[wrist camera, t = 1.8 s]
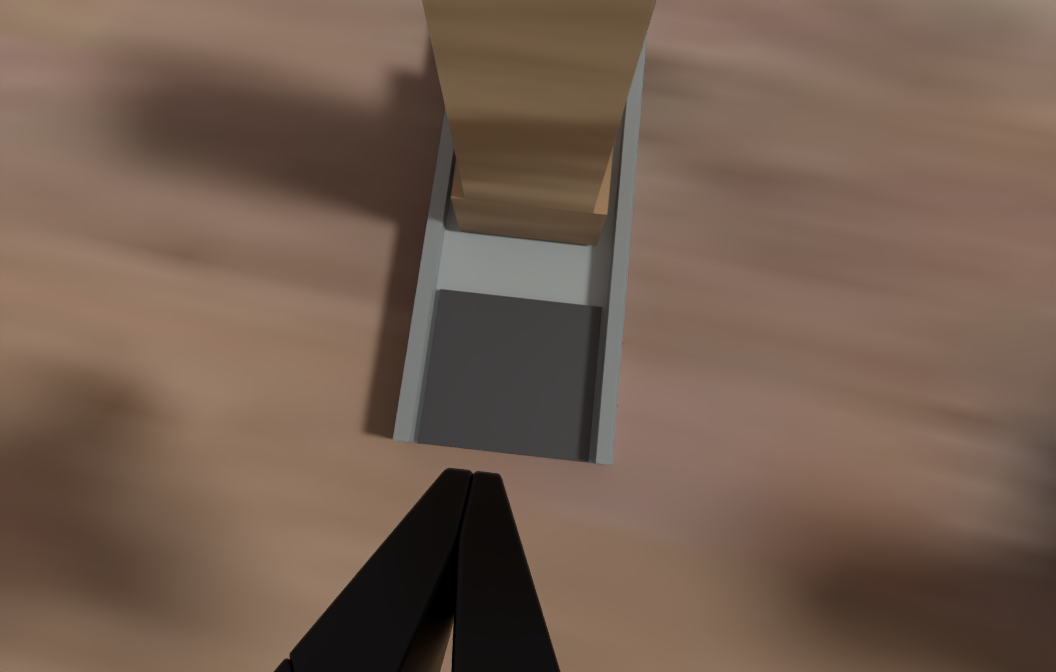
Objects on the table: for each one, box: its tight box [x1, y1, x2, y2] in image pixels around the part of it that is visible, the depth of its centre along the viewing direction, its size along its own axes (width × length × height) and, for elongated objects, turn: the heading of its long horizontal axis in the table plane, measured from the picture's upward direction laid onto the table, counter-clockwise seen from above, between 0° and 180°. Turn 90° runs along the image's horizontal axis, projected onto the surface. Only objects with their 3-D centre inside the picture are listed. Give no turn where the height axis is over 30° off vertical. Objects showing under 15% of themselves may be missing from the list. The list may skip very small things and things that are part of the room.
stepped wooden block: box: [422, 0, 656, 245], centre depth 17 cm, size 7×6×14 cm
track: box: [393, 33, 647, 465], centre depth 24 cm, size 22×8×1 cm, turn 174°
